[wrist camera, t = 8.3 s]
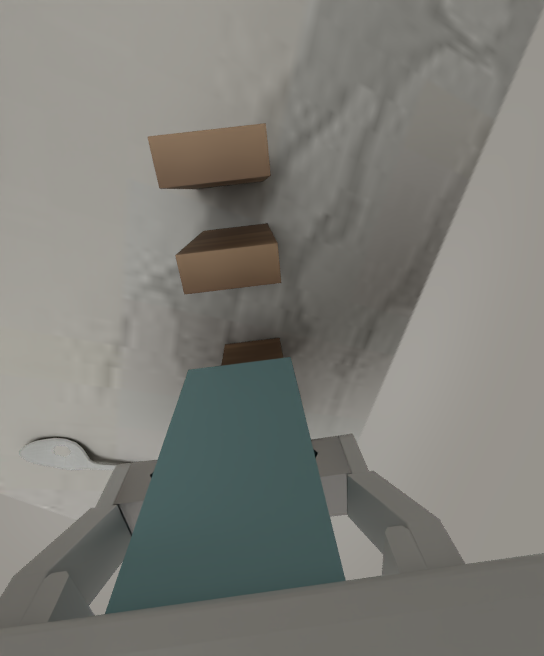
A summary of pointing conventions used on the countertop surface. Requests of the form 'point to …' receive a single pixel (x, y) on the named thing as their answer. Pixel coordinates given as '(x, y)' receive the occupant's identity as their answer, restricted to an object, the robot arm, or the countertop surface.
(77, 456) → the spoon
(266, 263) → the domino
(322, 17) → the countertop surface
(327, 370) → the countertop surface
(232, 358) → the domino
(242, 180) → the domino
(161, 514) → the domino
